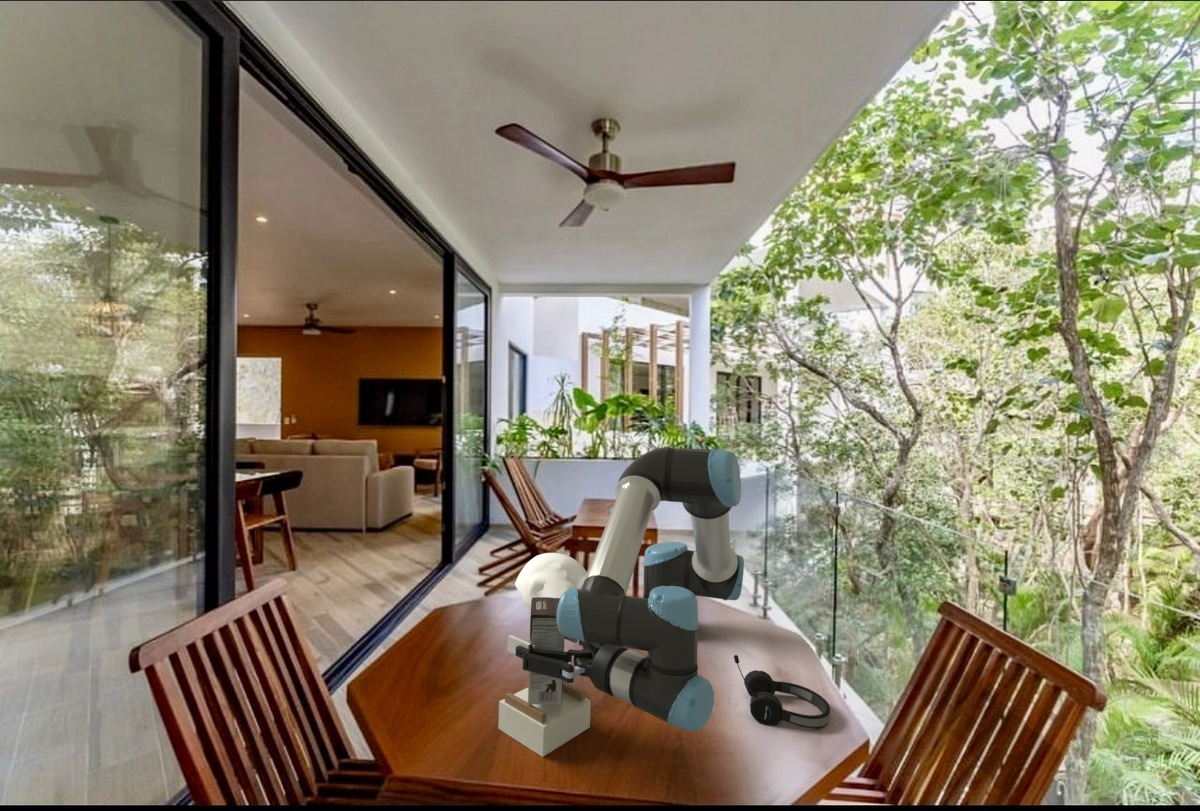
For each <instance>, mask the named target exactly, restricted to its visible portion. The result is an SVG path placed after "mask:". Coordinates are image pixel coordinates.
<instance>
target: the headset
mask: <svg viewBox="0 0 1200 811" xmlns="http://www.w3.org/2000/svg"><path fill="white" fill-rule="evenodd" d="M733 659H734V663H736V666H737V668H738V671H739V672H740V675H741V678H742V679H743V680H744V681H743V683H744V686H745V688H746V692H747V693H748V695H749V696H750V697H751V698H750V702H749V710H750V713H751V715H752V717H753V719H754V720H755V721H756V722H757V723H759V724H762V725H766V726H776V725H778V724H780V723H781V722H786V723H788V724H791V725H794V726H796V727H798V726H799V727H800V728H805V729H822V728H825V727H826V726H827V725H828V724H829V722H830V715H831V706H830V704H829V703H828V701H827V700H826V699H825V698H824V697H823V696H821V695H820V694H819V693H817V692H815V691H814V690H812V689H810V688H809V687H808V688H807V687H804V686H803V685H800V684H795V683H792V682H788V681H787V682H785V681H777V680H773V678H772V676H771V675H770V674H769V673H767V672H766V671H764V670H751V671H749V672H748V673H747V674H746V675H745V676H744V674H743V672H742V670H741V668H740V664H739V663H740V659H739V656H738V654H735V655H733ZM776 692H778V693H783V694H789V695H792V696H794V697H795V696H796V697H798V698H801V699H802V700H805V701H807V702H808V703H810V704H812V706H815V707H816V708H818V710H820V712H821V713H820V714H817V715H816V714H815V715H814V714H813V715H811V714H803V713H797V712H794V711H790V710H787V709H784V707H783V704H782V702H781V700H780V699H779V698H778V697H777V696H776V695H775V693H776Z"/></svg>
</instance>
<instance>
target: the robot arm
mask: <svg viewBox="0 0 1200 811" xmlns="http://www.w3.org/2000/svg"><path fill="white" fill-rule="evenodd" d="M741 478H742V477H741V469H740V463H739V460H738V457H737V455H736V454H735V453H734V452H732V451H729V450H721V449H719V448H712V449H711V448H709V449H708V448H682V447H681V448H679V447H678V448H677V447H668V446H667V447H659V448H655V449H652V450H649V451H647V452H645V453H643V454H642V455H640V456H639V457H637V458H636V459H635V460H634V461H632V462H631V463H630V465H628V466H627V467H626V468H625V470H624V471H623V472H622V474H621V475H620V476H619V478H618V482H617V483H616V486H615V490H614V492H615V497H616V499H615V502H614V504H613V507H612V510H611V512H610V515H609V517H608V520H607V522H606V524H605V527H604V529H603V532H602V534H601V537H600V540H599V543H598V544H597V548H596V550H595V552H594V554H593V558H592V560H591V562H590V565H589V567H588V569H587V571H586V572H587V575H586V577H585V580H584V582H583V585H582V587H581V589H578V588H576V589H567V590H566V591H565V592H564V593H563V594H562V596H561V598H560V600H559V604H558V608H557V625H558V630H559V632H560V633H561V634H562V635H563V636H565V639H564V640H566V641H569V642H571V643H574V644H576V643H578V646H581V647H582V649H568V650H567V651H564V652H563V651H553V650H544V649H535V645H533V644H530V642H529V641H526V640H524V639H521V638H519V637H517V636H516V635H515V636H514V635H512V634H509V635H508V636H507V652H509V653H511V654H514V655H515V656H516V657H518V658H520V659H522V670H523V671H527V672H529V671H530V672H534V673H538V674H542V675H546V676H550V677H554V678H558V679H561V680H563V681H565V682H567V683H569V684H572V683H574V682H575V681H574V677H577V676H581V677H586V678H589V679H590V682H592V684H593V686H594V687H595V689H597V690H598V691H600V692H603V693H605V694H608V695H609V696H612V697H614V698H617V699H618V700H620V701H623V702H625V703H628V704H630V705H632V706H633V707H635V708H637V709H640V710H641V711H643V712H644V713H648V714H650V715H652V716H654V717H656V718H657V719H660V720H661V721H664V722H665V723H667V724H669V725H670V726H674V727H677V728H679V729H681V730H685V731H688V732H691V733H695V732H699V731H701V729H702V728H704V727H705V726H706V725H707V723H708V722H709V720H710V717H711V716H712V713H713V712H712V711H713V708H714V703H715V692H714V689H713V685H712V683H711V682H710V681H709V680H708V679H707V678H704V677H703V676H702V675H699V673H698V670H699V665H698V644H699V643H698V642H699V641H698V640H699V638H698V637H699V626H700V621H699V616H698V615H699V608H698V606H699V605H698V604H699V602H698V597H702V598H709V599H716V600H717V599H719V600H723V601H737V600H738V599H740V597H741V593H742V588H743V581H744V568H745V561H744V557H743V556H742V555H741V554H740V555H739V554H737V553H736V551H735V550H734V549H733V548H732V546H731V533H730V532H731V531H730V530H731V529H730V517H729V512H730V511H731V510H732V508H733V507H737V506H738V505H739V504H740V503H741V502H740V501H741V495H742V479H741ZM661 502H672V503H682V506H683V508H684V509H685V511H686V512H687V513H688V515H690V519H691V525H692V532H693V538H694V544H695V550H690V549H689V547H688V545H687V544H686V543H685V542H680V541H679V542H678V541H667V542H659V543H655V544H651V545H650V546H648V547H647V548H646V549H645V551H644V558H643V559H644V561H643V563H642V564H643V589H642V590H643V592H642V595H643V596H642V597H636V596H629V595H627V592H628V590H629V587H630V583H631V580H632V576H633V573H634V570H635V568H636V567H635V566H636V563H637V560H638V557H639V553H640V550H641V548H642V543H643V541H644V537H645V534H646V530H647V528H648V524H649V521H650V518H651V515H652V512H653V511H655V510H656V509H657V508H658V506H659V505H660V503H661ZM632 649H633V650H632ZM636 650H637V651H636ZM638 650H640V651H644V652H647V655H645V654H642V653H641V652H638ZM572 660H573V662H572ZM572 663H573V665H572Z"/></svg>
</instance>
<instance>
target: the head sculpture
mask: <svg viewBox="0 0 1200 811" xmlns="http://www.w3.org/2000/svg"><path fill="white" fill-rule="evenodd" d="M587 572H588V571H587V570H586V569H585V567H584V566H583V564H581V563H580V562H579V561H578V560H576V559H574V558H573V557H571V556H569V555H566V554H563V553H558V552H545V553H541V554H538V555H536V556H534V557H533V558H532V559H530V560H529V561H528V562H527V563H526V564H525V565H524V567H523V568H522V569H521V570H520V573H519V574H518V576H517V578H516V580H515V582H514V586H515V588H516V589H517V591H518V594H519V596H520V597H521V600H522V602H523V604H524V605H525V606H526V607H527V608H528V609H529V611H530V612H531V601H532V598H534V597H550V598H561V596H562V594H563V593H564V592H565V591H566V590H567V589H576V588H578V589H581V587H582V585H583V582H584V580H585V577H586V575H587Z"/></svg>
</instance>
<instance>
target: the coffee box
mask: <svg viewBox="0 0 1200 811" xmlns="http://www.w3.org/2000/svg"><path fill="white" fill-rule="evenodd" d="M559 600H560V598H550V597H534V598H532V601H531V611H530V618H529V641H528V643H530V644H533V645H535V649H544V650H553V651H563V652H565V640H566V639H565V636H563V635H562V634H561V633H560V632H559V630H558V625H557V608H558V604H559ZM527 683H528V687H527V688H528V704H562V697H563V680H561V679H558V678H554V677H550V676H546V675H542V674H538V673H534V672H530V671H528V682H527Z"/></svg>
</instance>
